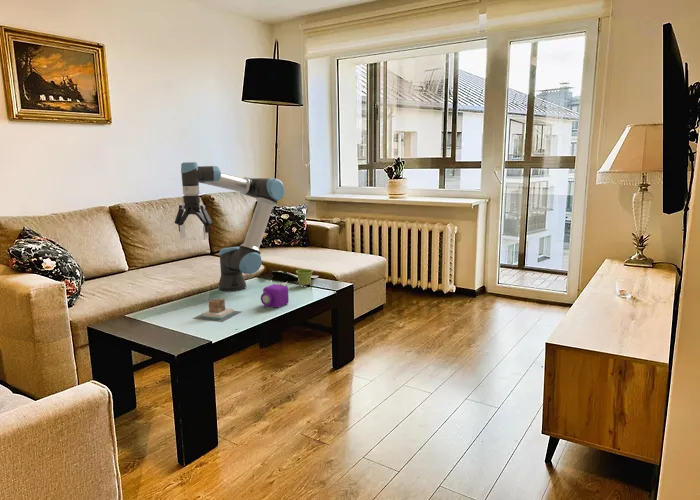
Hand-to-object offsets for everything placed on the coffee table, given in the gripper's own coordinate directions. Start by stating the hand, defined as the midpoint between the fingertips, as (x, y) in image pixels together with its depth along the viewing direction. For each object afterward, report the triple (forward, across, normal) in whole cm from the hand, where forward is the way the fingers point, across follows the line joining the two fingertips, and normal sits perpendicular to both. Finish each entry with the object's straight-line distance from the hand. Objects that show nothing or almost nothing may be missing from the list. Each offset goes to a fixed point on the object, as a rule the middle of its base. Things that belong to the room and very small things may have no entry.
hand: (194, 238), depth 239 cm
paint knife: (+34, +25, +58) cm, 71 cm away
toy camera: (+33, +38, +8) cm, 51 cm away
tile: (+31, +16, -14) cm, 38 cm away
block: (+30, +21, -14) cm, 40 cm away
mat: (+33, +21, -14) cm, 41 cm away
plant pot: (+33, +35, +48) cm, 68 cm away
